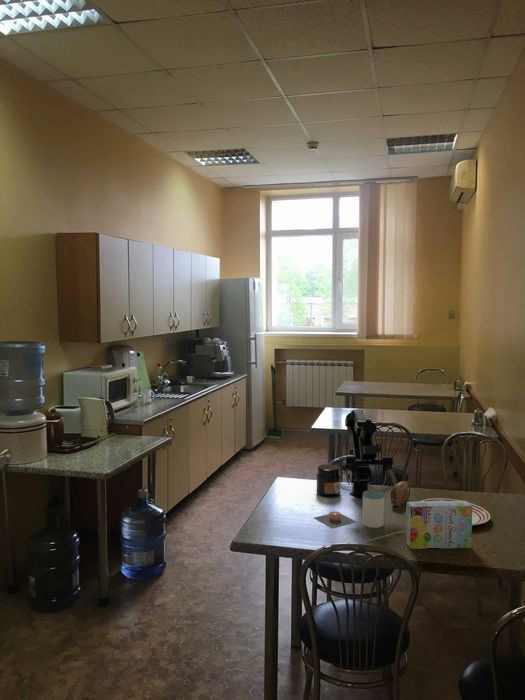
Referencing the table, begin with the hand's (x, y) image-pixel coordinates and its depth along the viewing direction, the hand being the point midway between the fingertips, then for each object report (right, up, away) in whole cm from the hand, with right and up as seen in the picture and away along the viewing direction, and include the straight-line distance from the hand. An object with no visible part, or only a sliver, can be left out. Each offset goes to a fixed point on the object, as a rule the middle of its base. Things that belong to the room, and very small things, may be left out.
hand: (370, 482), depth 218 cm
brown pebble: (-14, -14, -3) cm, 20 cm away
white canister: (-1, -14, -7) cm, 16 cm away
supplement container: (-13, -12, +28) cm, 33 cm away
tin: (+15, -13, +17) cm, 26 cm away
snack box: (+18, -16, -25) cm, 35 cm away
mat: (-14, -14, -3) cm, 20 cm away
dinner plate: (+32, -14, +1) cm, 35 cm away
